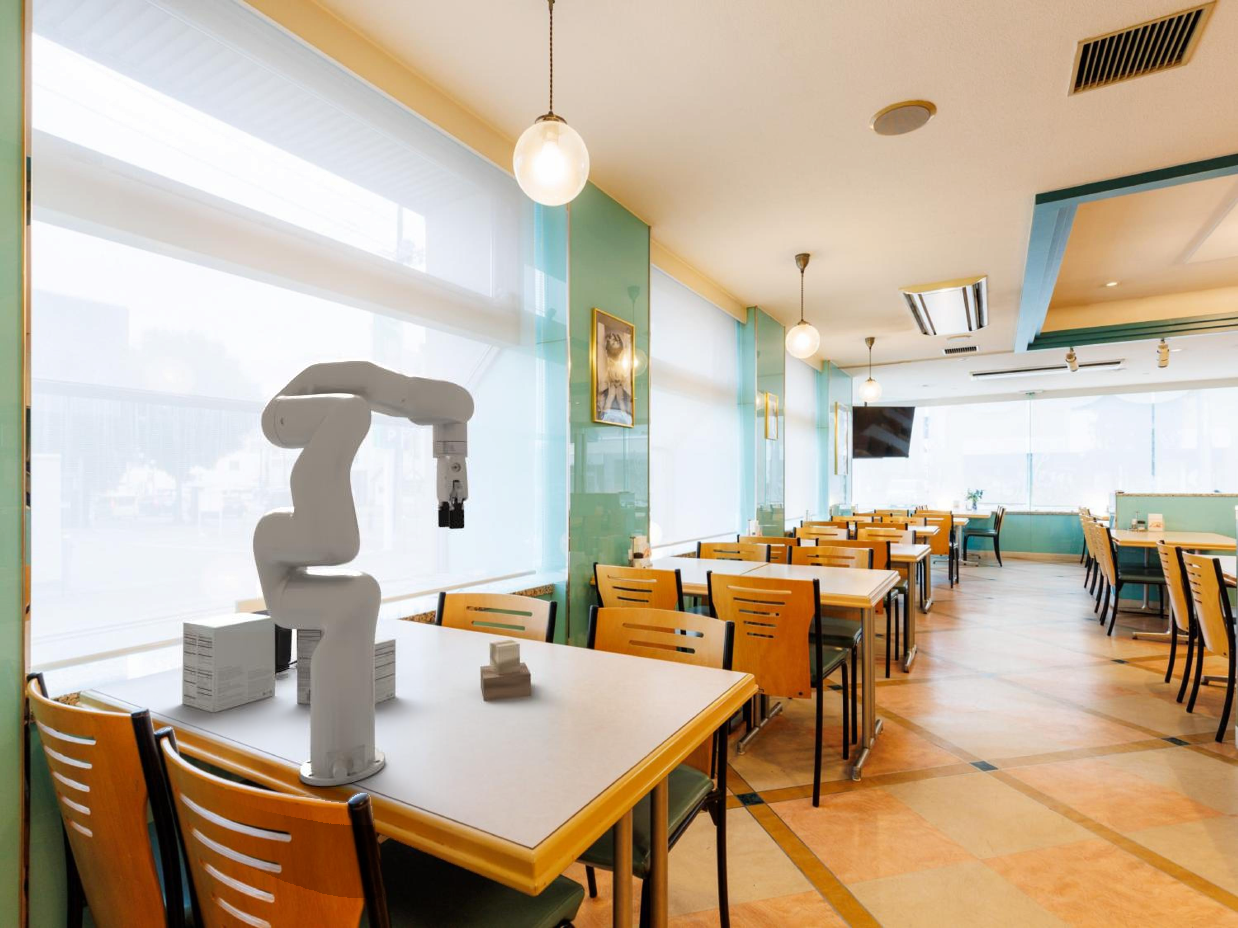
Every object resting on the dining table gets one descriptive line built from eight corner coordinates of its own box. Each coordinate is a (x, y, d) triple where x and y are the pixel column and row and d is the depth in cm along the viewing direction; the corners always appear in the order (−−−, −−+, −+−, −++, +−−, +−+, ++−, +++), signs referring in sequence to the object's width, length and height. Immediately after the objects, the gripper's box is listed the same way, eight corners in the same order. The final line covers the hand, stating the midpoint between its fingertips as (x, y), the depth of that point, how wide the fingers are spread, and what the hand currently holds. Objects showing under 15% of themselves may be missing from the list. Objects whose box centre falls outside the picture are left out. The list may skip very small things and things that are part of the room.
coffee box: (323, 690, 146) (323, 618, 146) (349, 691, 144) (348, 619, 145) (295, 703, 137) (295, 627, 137) (322, 705, 135) (322, 628, 136)
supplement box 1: (243, 687, 150) (243, 611, 150) (276, 695, 143) (276, 615, 144) (180, 703, 138) (181, 621, 139) (213, 713, 132) (213, 627, 132)
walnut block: (531, 697, 139) (530, 673, 139) (483, 702, 136) (483, 678, 136) (525, 684, 148) (524, 662, 148) (480, 688, 145) (480, 666, 146)
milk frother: (239, 673, 162) (239, 613, 162) (289, 657, 177) (289, 603, 177) (283, 677, 157) (283, 616, 158) (331, 661, 172) (331, 605, 173)
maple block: (520, 671, 141) (519, 643, 141) (498, 674, 138) (498, 646, 139) (511, 666, 145) (510, 639, 146) (490, 669, 143) (489, 642, 143)
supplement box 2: (345, 701, 137) (345, 642, 138) (373, 692, 144) (372, 634, 144) (369, 706, 134) (369, 645, 134) (397, 696, 140) (396, 637, 141)
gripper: (477, 448, 138) (478, 528, 137) (457, 453, 153) (457, 525, 152) (442, 447, 134) (443, 530, 133) (424, 453, 149) (425, 527, 148)
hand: (451, 527), depth 143 cm, fingers open, 9 cm apart
